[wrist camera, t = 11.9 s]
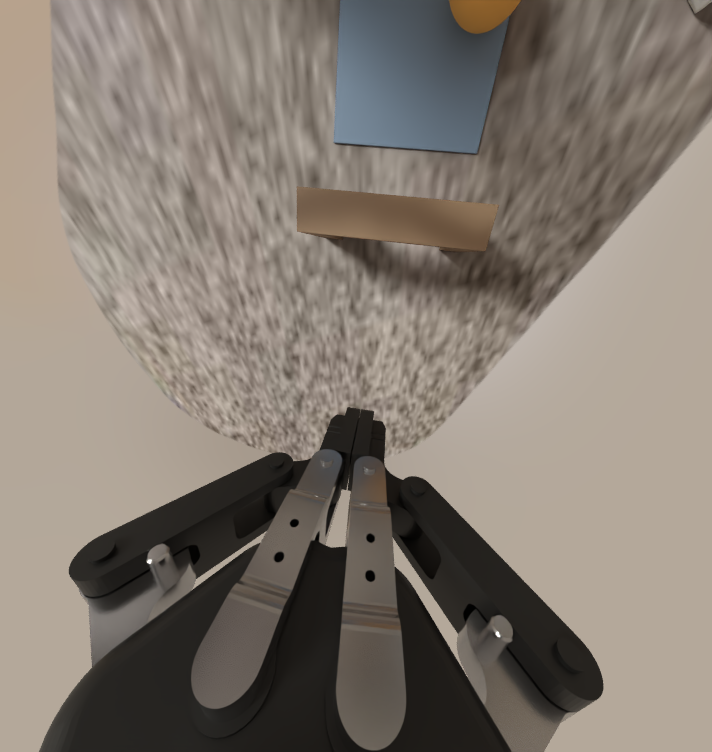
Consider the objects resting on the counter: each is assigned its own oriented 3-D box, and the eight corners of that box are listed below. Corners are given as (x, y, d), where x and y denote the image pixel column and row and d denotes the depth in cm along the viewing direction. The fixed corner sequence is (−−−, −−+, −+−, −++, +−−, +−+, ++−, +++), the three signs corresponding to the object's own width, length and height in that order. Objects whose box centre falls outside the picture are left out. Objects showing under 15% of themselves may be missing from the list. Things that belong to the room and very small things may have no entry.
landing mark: (334, 143, 26) (333, 142, 26) (345, -95, 19) (344, -98, 19) (476, 153, 25) (477, 153, 24) (535, -94, 18) (536, -98, 18)
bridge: (457, 252, 28) (485, 251, 20) (325, 237, 29) (297, 231, 21) (465, 220, 27) (499, 204, 18) (326, 207, 28) (296, 186, 19)
